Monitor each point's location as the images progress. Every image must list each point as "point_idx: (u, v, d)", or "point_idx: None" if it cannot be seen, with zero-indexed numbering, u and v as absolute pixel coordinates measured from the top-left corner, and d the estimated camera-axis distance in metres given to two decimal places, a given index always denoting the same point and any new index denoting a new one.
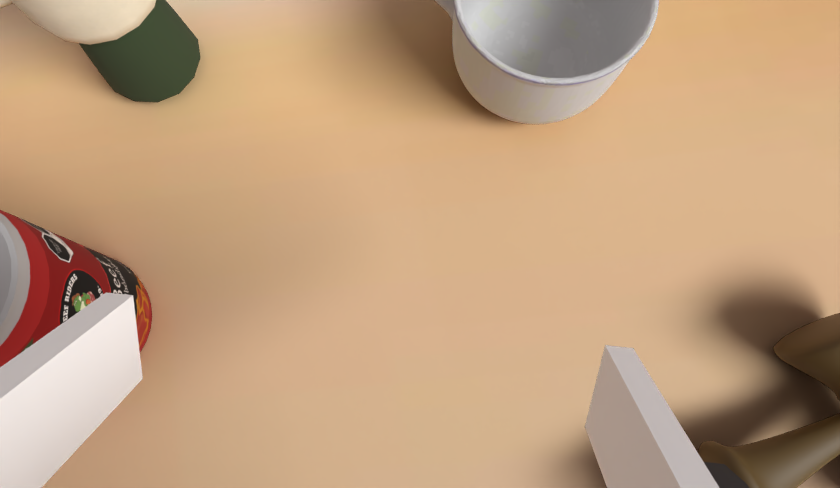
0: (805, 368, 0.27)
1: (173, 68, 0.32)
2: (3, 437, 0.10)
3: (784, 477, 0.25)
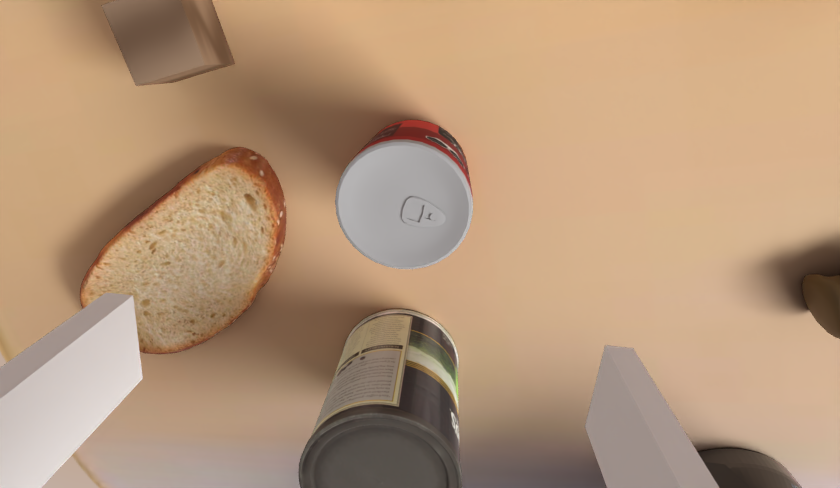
0: None
1: None
2: (3, 437, 0.10)
3: None
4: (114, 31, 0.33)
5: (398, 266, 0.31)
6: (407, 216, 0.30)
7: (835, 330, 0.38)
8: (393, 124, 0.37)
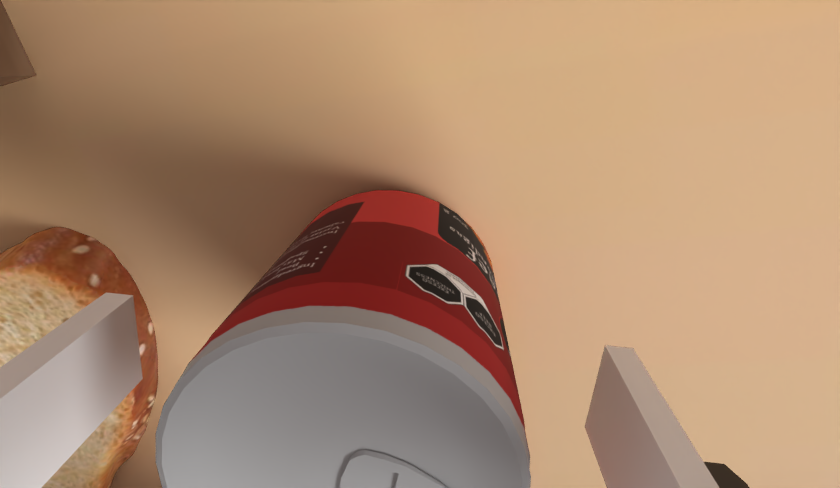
0: None
1: None
2: (2, 437, 0.10)
3: None
4: None
5: None
6: None
7: None
8: (347, 200, 0.18)
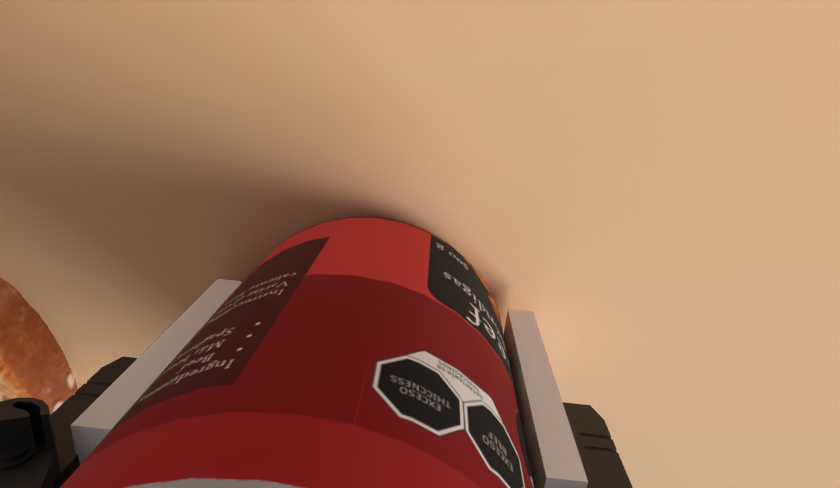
0: None
1: None
2: None
3: None
4: None
5: None
6: None
7: None
8: (309, 233, 0.14)
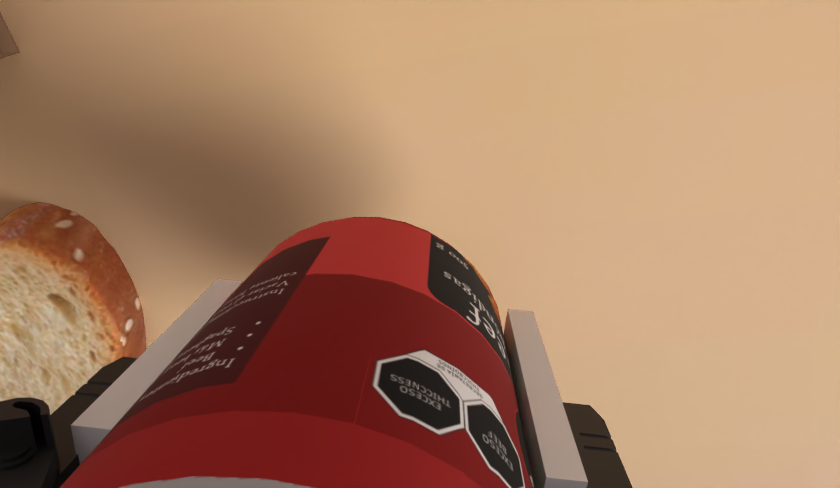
0: None
1: None
2: None
3: None
4: None
5: None
6: None
7: None
8: (310, 233, 0.14)
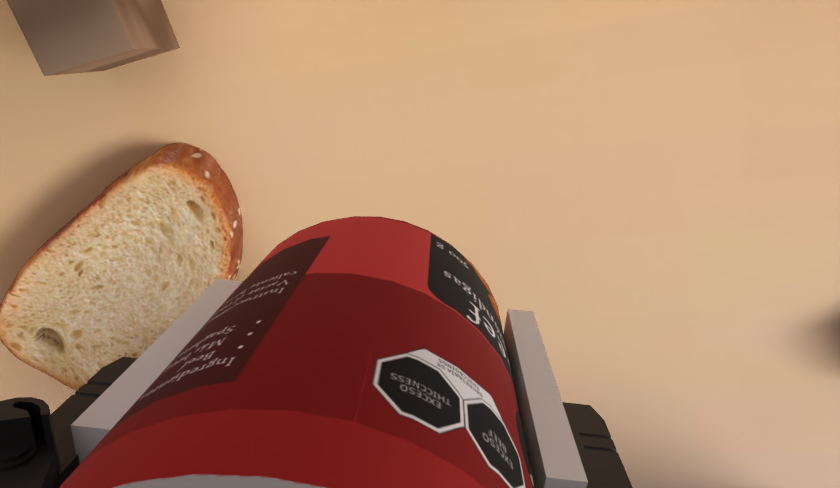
0: None
1: None
2: None
3: None
4: (11, 3, 0.25)
5: None
6: None
7: None
8: (310, 232, 0.14)
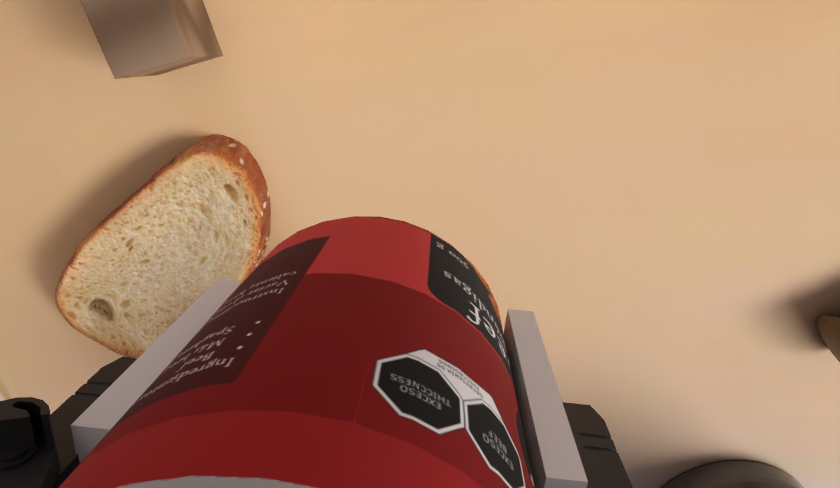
0: None
1: None
2: None
3: None
4: (90, 19, 0.31)
5: None
6: None
7: None
8: (309, 232, 0.14)
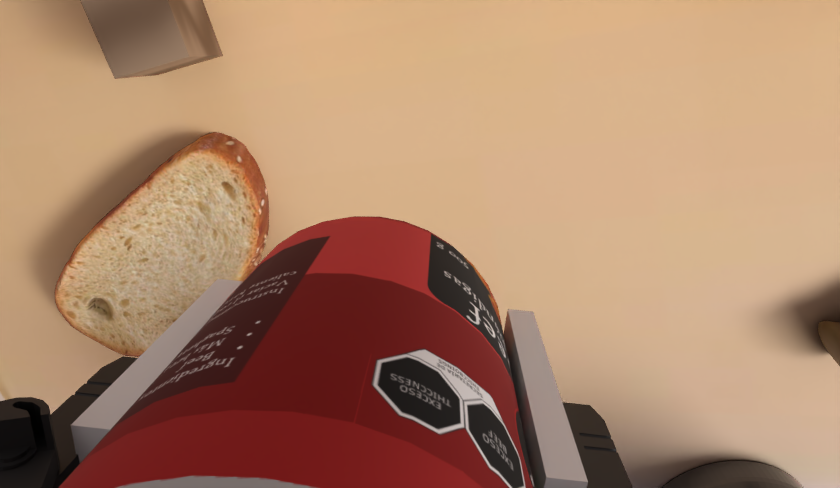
0: None
1: None
2: None
3: None
4: (90, 19, 0.31)
5: None
6: None
7: None
8: (309, 232, 0.14)
